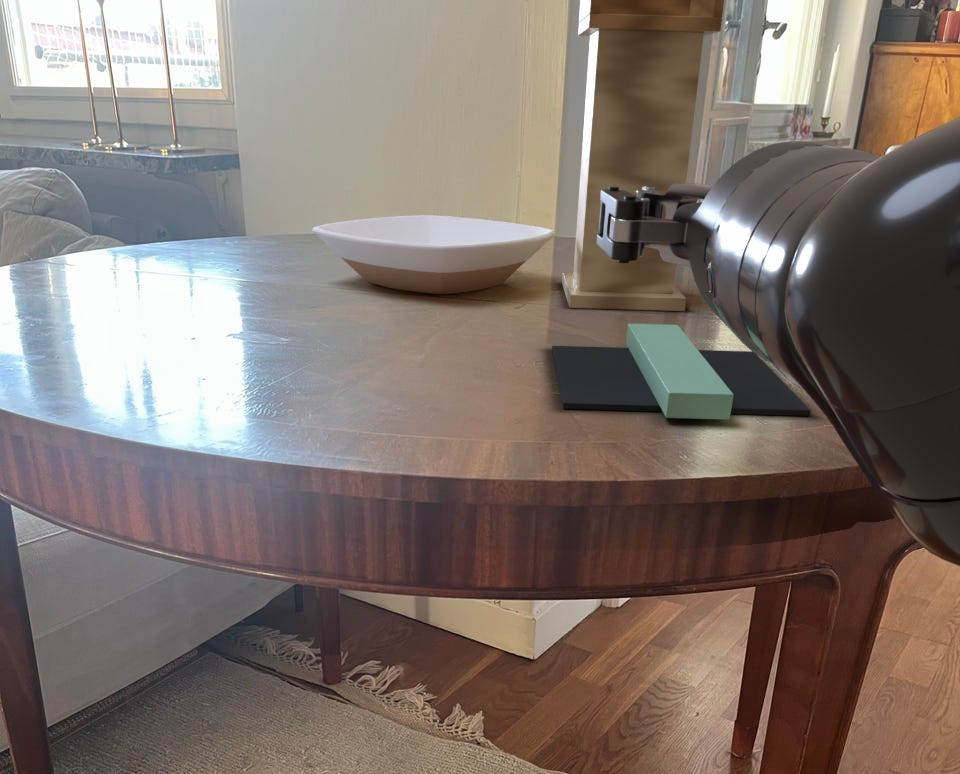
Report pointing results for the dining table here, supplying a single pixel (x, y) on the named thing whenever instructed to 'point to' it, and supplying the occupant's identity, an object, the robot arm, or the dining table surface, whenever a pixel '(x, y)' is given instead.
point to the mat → (621, 386)
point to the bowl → (433, 251)
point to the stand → (635, 135)
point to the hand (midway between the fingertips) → (726, 212)
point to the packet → (678, 373)
